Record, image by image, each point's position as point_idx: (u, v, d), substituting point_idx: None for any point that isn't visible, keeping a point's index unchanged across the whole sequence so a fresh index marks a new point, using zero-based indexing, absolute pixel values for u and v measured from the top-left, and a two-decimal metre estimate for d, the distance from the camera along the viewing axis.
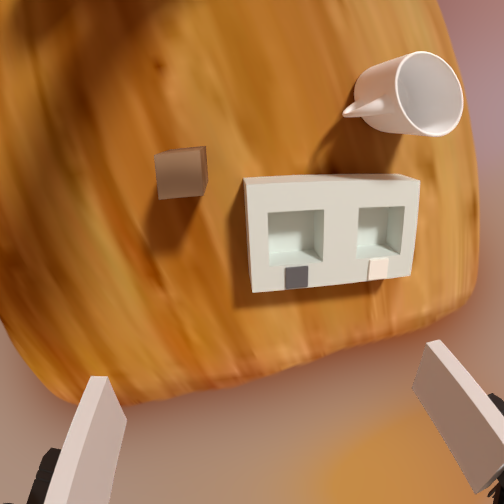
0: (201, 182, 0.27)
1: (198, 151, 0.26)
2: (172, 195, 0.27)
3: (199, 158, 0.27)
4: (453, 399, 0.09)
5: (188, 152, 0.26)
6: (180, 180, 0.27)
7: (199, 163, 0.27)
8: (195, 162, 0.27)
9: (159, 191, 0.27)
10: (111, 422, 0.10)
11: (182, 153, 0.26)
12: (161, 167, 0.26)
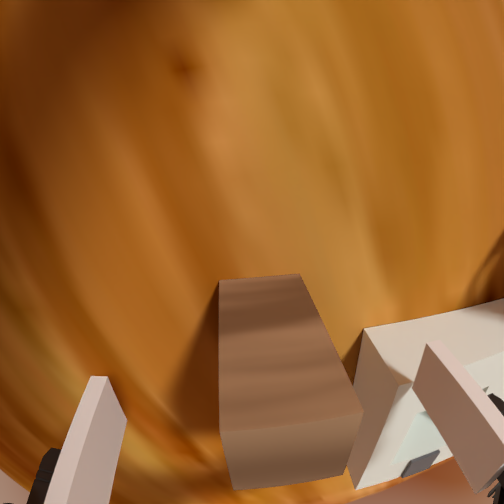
0: (345, 459, 0.09)
1: (359, 415, 0.08)
2: (269, 484, 0.09)
3: (356, 426, 0.08)
4: (453, 399, 0.09)
5: (330, 421, 0.08)
6: (293, 465, 0.09)
7: (353, 435, 0.08)
8: (343, 435, 0.08)
9: (235, 481, 0.09)
10: (111, 422, 0.10)
11: (312, 425, 0.08)
12: (244, 451, 0.08)
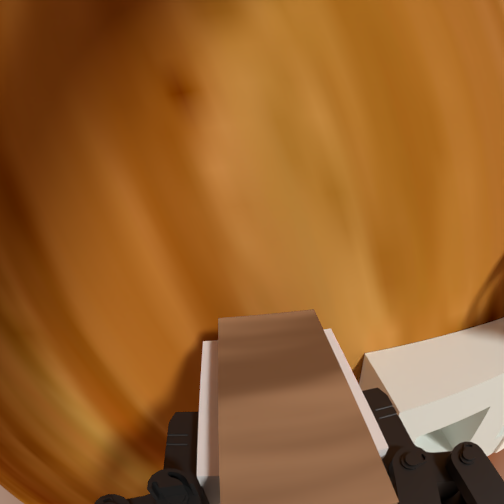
0: None
1: None
2: None
3: None
4: None
5: None
6: None
7: None
8: None
9: None
10: None
11: None
12: None
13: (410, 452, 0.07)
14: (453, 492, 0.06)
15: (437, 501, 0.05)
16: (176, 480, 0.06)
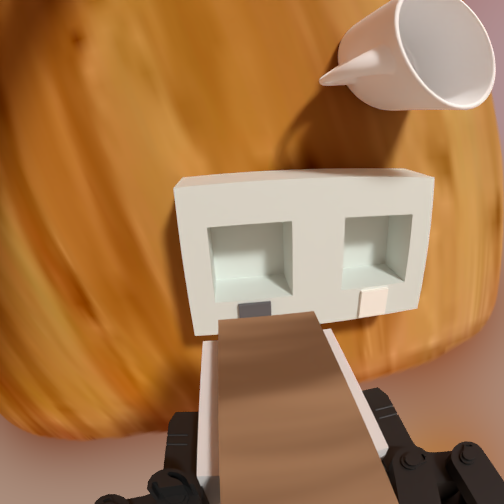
0: None
1: None
2: None
3: None
4: None
5: None
6: None
7: None
8: None
9: None
10: None
11: None
12: None
13: (410, 452, 0.07)
14: (453, 492, 0.06)
15: (438, 501, 0.05)
16: (176, 480, 0.06)
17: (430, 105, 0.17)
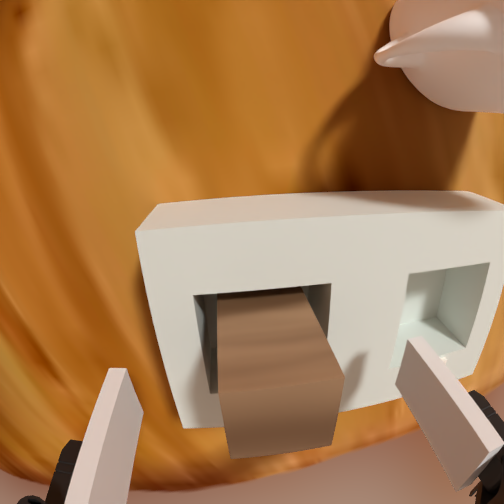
0: (332, 428, 0.10)
1: (341, 380, 0.09)
2: (263, 452, 0.11)
3: (339, 392, 0.10)
4: (433, 395, 0.10)
5: (315, 384, 0.09)
6: (284, 431, 0.10)
7: (337, 401, 0.10)
8: (328, 401, 0.10)
9: (232, 449, 0.10)
10: (129, 413, 0.11)
11: (298, 387, 0.09)
12: (239, 414, 0.10)
13: None
14: None
15: None
16: None
17: None
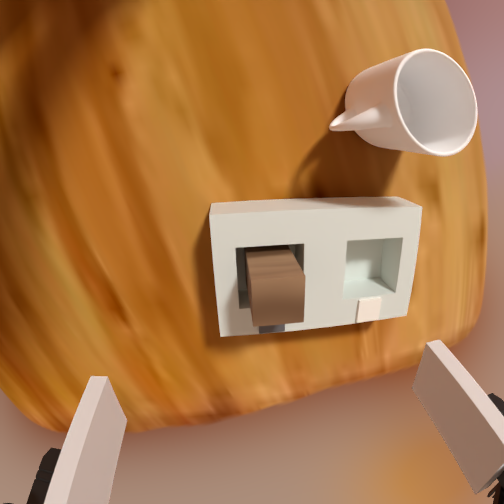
0: (303, 309, 0.25)
1: (303, 277, 0.24)
2: (269, 322, 0.25)
3: (304, 285, 0.24)
4: (452, 399, 0.09)
5: (292, 278, 0.24)
6: (279, 307, 0.24)
7: (303, 290, 0.24)
8: (299, 289, 0.24)
9: (254, 318, 0.24)
10: (111, 422, 0.10)
11: (285, 279, 0.24)
12: (259, 293, 0.24)
13: None
14: None
15: None
16: None
17: (419, 152, 0.22)
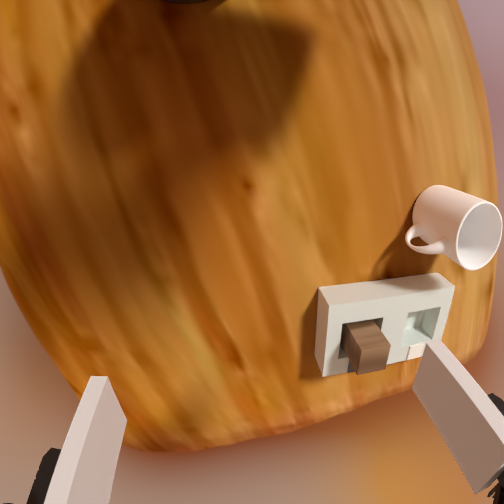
0: (386, 362, 0.37)
1: (390, 345, 0.36)
2: (366, 371, 0.37)
3: (389, 349, 0.36)
4: (453, 399, 0.09)
5: (383, 347, 0.36)
6: (374, 363, 0.36)
7: (388, 352, 0.36)
8: (386, 352, 0.36)
9: (359, 370, 0.36)
10: (111, 422, 0.10)
11: (380, 348, 0.35)
12: (364, 357, 0.36)
13: None
14: None
15: None
16: None
17: None
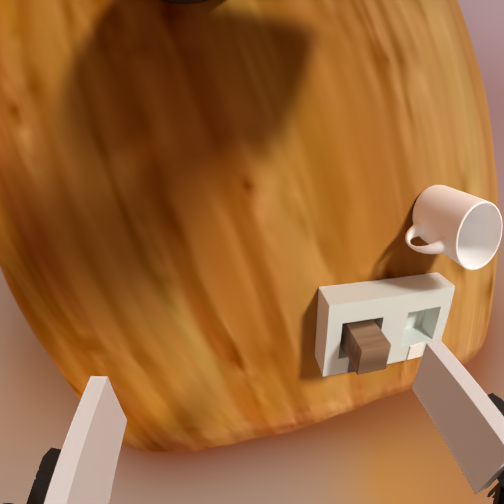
0: (386, 362, 0.37)
1: (390, 345, 0.36)
2: (366, 371, 0.37)
3: (389, 349, 0.36)
4: (453, 399, 0.09)
5: (384, 346, 0.36)
6: (374, 362, 0.36)
7: (388, 352, 0.36)
8: (386, 352, 0.36)
9: (359, 370, 0.36)
10: (111, 422, 0.10)
11: (380, 347, 0.36)
12: (364, 357, 0.36)
13: None
14: None
15: None
16: None
17: None
